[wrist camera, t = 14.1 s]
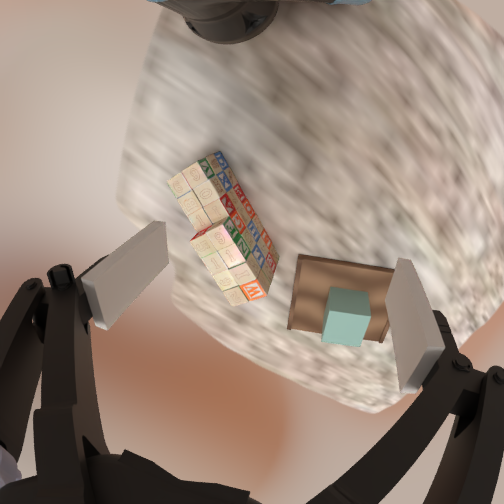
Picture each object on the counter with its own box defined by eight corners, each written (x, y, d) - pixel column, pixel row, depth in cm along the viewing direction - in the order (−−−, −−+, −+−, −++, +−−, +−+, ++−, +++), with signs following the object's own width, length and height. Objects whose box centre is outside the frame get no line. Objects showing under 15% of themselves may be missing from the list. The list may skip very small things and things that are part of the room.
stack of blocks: (191, 167, 49) (154, 186, 39) (220, 150, 47) (188, 164, 36) (251, 268, 56) (231, 308, 45) (280, 257, 53) (267, 297, 43)
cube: (330, 286, 52) (329, 310, 46) (367, 292, 50) (371, 316, 44) (323, 316, 55) (321, 341, 49) (358, 321, 54) (359, 347, 48)
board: (298, 254, 52) (297, 259, 50) (406, 271, 48) (408, 276, 47) (288, 323, 59) (286, 329, 58) (381, 336, 56) (382, 343, 54)
